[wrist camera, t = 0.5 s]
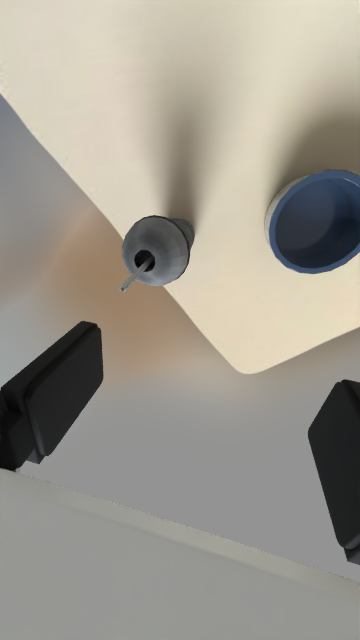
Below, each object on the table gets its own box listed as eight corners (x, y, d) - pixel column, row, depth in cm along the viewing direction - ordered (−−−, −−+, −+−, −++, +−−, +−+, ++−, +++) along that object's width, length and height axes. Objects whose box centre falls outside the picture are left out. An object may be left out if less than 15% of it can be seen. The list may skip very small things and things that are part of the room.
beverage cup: (210, 217, 34) (181, 244, 17) (195, 266, 37) (158, 329, 20) (162, 201, 34) (84, 211, 17) (151, 251, 38) (78, 300, 21)
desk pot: (273, 172, 30) (281, 168, 25) (368, 175, 28) (397, 171, 23) (257, 257, 35) (260, 269, 30) (336, 264, 33) (354, 278, 28)
